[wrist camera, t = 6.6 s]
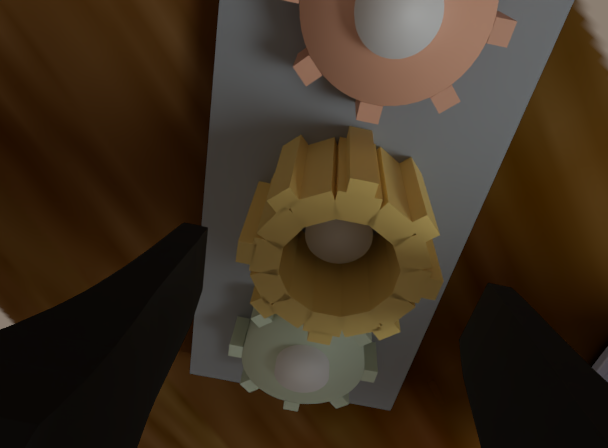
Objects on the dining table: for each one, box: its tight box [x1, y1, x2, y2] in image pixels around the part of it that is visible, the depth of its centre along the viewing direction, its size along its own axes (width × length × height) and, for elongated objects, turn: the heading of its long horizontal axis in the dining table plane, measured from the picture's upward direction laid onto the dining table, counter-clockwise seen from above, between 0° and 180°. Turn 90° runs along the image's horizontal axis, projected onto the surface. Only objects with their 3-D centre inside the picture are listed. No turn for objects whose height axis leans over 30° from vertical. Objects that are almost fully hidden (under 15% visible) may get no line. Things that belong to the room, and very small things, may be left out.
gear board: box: [190, 0, 574, 412], centre depth 15 cm, size 9×20×3 cm, turn 170°
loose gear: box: [235, 126, 444, 345], centre depth 14 cm, size 6×6×4 cm
